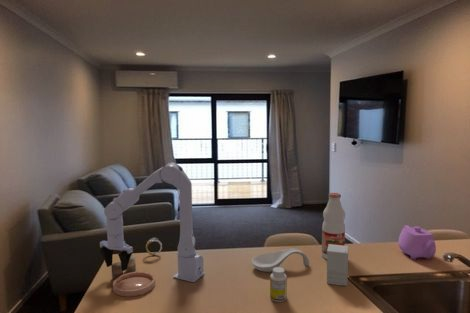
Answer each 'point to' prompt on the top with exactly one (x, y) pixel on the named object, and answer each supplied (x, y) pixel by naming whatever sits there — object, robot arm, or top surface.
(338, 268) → the supplement box
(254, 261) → the spoon rest
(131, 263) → the beige tall rounded piece
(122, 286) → the dish
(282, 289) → the supplement bottle
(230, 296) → the top surface
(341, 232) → the fruit juice
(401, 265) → the top surface
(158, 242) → the ring
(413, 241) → the purple animal planter
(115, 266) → the brown short cylinder
